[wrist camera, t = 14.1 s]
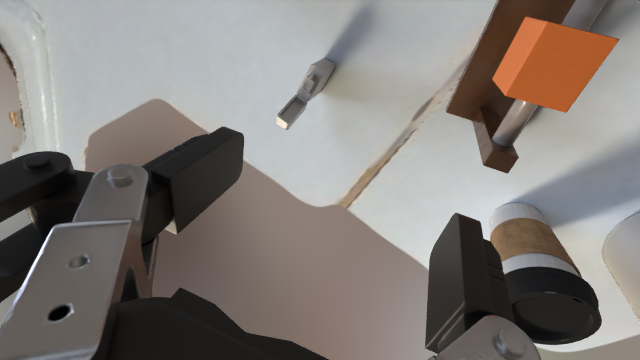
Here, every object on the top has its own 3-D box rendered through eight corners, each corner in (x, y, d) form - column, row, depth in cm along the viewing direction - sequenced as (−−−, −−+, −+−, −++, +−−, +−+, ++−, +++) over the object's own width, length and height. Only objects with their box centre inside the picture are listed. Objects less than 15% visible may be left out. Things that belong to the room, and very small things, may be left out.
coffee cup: (572, 210, 36) (637, 319, 24) (526, 255, 41) (561, 364, 28) (502, 183, 37) (531, 274, 25) (466, 229, 42) (475, 324, 30)
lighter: (324, 57, 36) (298, 70, 30) (335, 65, 36) (312, 79, 30) (299, 103, 41) (272, 123, 34) (309, 110, 41) (284, 132, 34)
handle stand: (445, 109, 35) (446, 153, 25) (527, -65, 26) (579, -102, 16) (516, 131, 33) (546, 186, 24) (629, -44, 24) (755, -71, 14)
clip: (491, 79, 26) (504, 95, 22) (525, 16, 23) (547, 21, 19) (543, 93, 26) (566, 113, 21) (584, 30, 23) (620, 39, 19)
